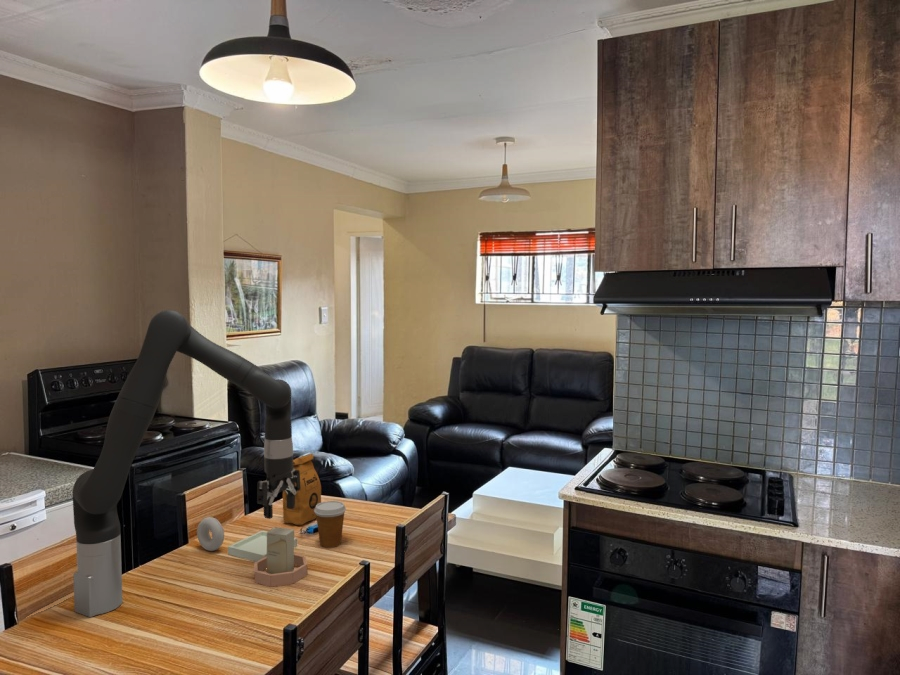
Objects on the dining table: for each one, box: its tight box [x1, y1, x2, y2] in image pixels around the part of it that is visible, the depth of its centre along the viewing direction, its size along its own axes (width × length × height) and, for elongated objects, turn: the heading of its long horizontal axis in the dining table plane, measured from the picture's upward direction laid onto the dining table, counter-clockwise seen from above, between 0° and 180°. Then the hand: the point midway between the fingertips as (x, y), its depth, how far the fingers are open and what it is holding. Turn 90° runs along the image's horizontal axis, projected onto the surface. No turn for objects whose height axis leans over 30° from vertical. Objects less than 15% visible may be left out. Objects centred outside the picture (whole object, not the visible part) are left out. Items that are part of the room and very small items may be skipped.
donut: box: [196, 516, 225, 552], centre depth 179 cm, size 10×4×10 cm, turn 61°
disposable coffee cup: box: [314, 500, 347, 549], centre depth 184 cm, size 10×10×12 cm
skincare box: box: [266, 526, 295, 574], centre depth 163 cm, size 6×4×12 cm
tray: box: [227, 530, 298, 563], centre depth 179 cm, size 14×14×2 cm
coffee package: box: [282, 453, 322, 525], centre depth 204 cm, size 10×12×22 cm
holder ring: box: [253, 553, 308, 588], centre depth 163 cm, size 14×14×3 cm
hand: (279, 513), depth 163 cm, fingers open, 8 cm apart
